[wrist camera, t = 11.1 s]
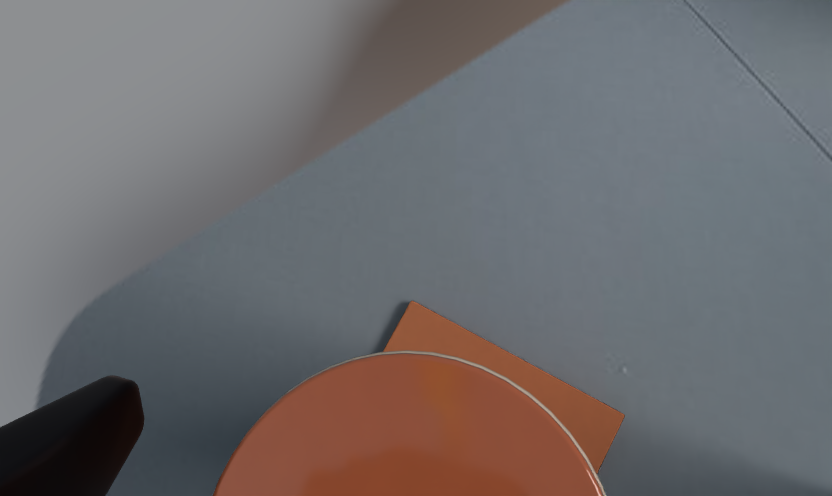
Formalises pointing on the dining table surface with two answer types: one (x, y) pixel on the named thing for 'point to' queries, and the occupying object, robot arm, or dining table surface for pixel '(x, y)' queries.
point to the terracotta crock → (408, 435)
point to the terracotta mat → (512, 377)
